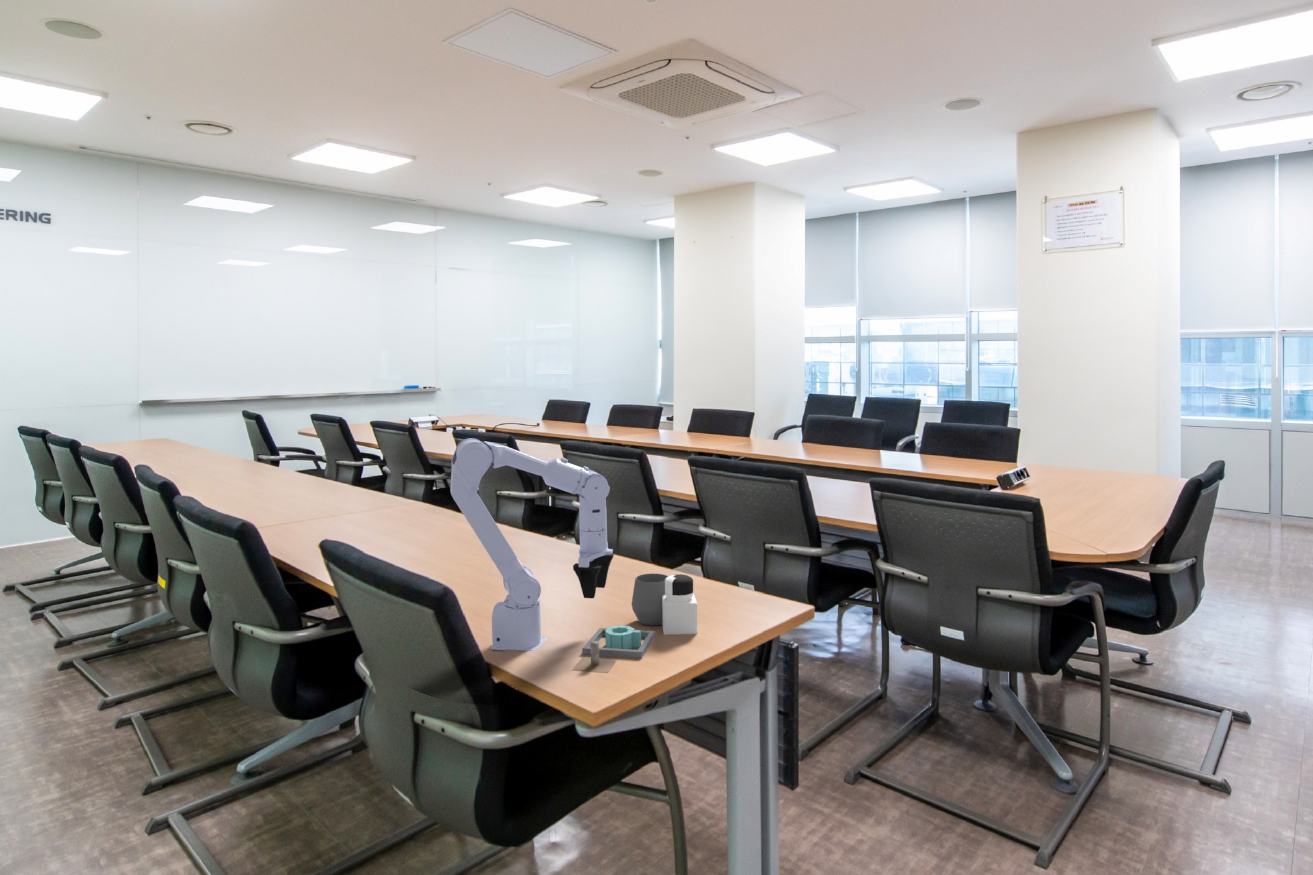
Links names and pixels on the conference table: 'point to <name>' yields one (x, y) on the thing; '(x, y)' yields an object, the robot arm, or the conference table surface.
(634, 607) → the cup
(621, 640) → the ring
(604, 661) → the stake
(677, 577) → the medicine bottle
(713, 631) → the conference table surface
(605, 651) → the tray
